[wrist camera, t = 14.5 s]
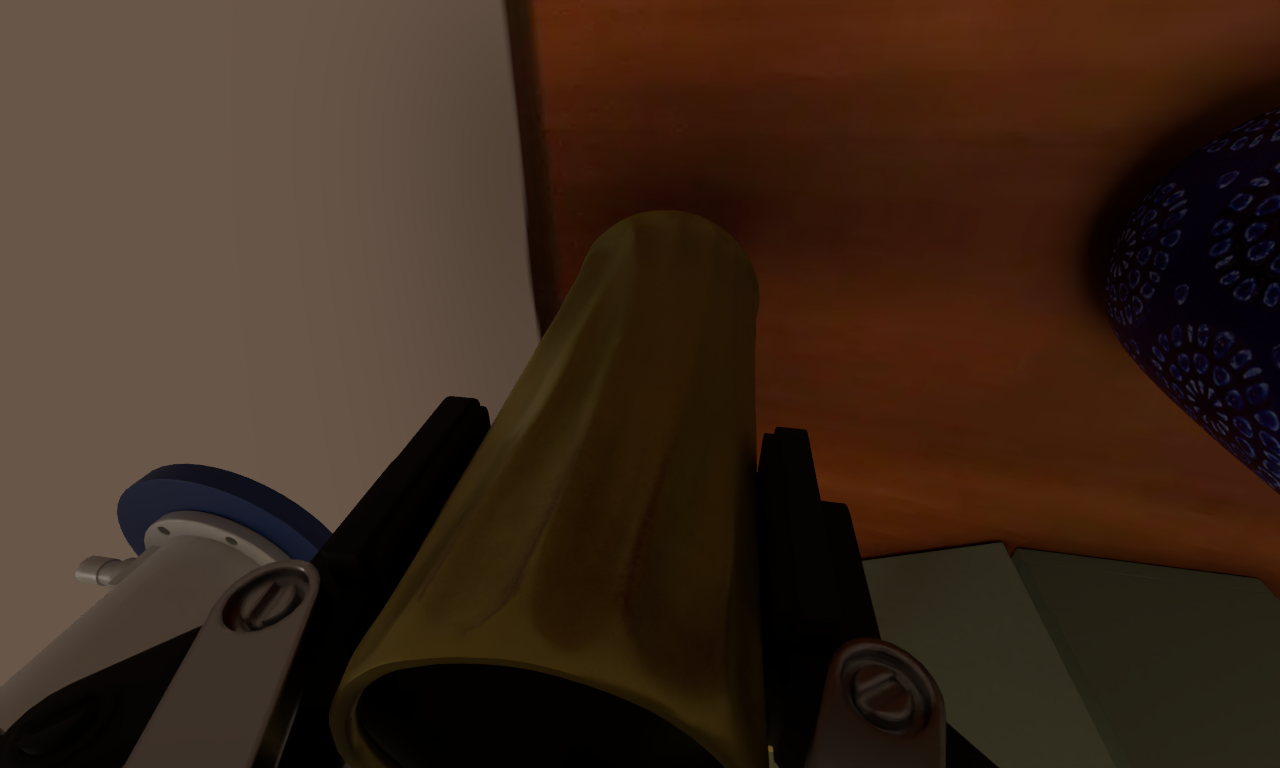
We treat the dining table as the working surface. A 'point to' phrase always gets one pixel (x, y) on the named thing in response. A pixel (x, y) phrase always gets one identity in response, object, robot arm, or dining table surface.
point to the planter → (1210, 290)
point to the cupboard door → (985, 655)
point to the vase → (593, 541)
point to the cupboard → (1165, 658)
